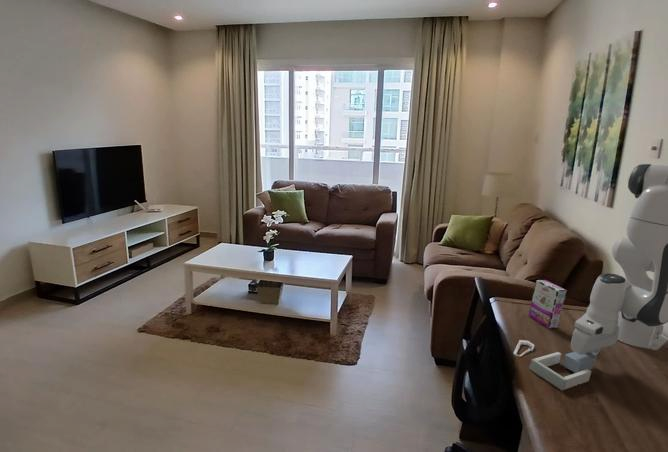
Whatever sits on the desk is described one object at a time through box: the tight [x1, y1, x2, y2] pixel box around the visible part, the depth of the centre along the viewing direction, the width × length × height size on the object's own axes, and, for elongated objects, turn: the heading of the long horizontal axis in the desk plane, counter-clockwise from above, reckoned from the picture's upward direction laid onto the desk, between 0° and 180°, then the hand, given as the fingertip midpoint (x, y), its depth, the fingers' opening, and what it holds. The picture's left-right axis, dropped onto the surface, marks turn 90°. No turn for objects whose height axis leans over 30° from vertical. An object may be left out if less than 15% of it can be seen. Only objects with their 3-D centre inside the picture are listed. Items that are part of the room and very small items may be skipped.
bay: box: [529, 351, 592, 391], centre depth 128 cm, size 13×11×4 cm
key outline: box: [513, 339, 535, 358], centre depth 142 cm, size 13×5×2 cm, turn 145°
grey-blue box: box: [562, 351, 596, 374], centre depth 132 cm, size 8×5×6 cm, turn 116°
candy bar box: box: [528, 279, 568, 329], centre depth 162 cm, size 11×5×16 cm, turn 17°
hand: (590, 359), depth 135 cm, fingers closed
